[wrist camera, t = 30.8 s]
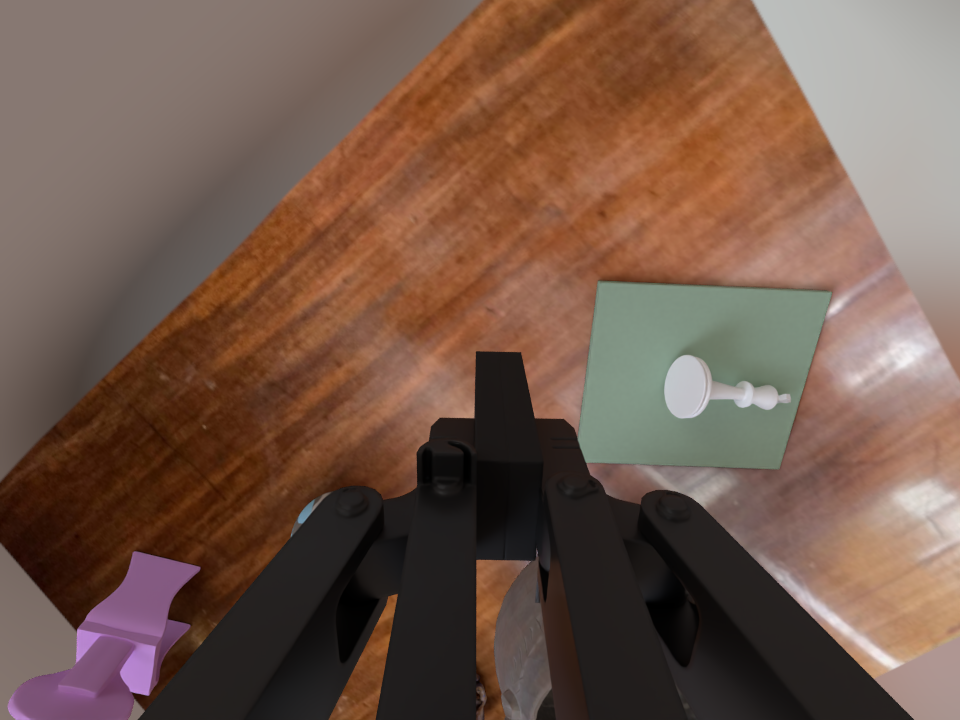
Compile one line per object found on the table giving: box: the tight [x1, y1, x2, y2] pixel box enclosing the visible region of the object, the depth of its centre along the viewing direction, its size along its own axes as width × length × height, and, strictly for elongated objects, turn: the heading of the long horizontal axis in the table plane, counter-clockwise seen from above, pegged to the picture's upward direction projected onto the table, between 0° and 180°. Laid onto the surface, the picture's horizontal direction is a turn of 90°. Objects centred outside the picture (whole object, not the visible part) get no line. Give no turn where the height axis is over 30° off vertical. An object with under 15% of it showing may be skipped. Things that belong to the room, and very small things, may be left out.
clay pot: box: [494, 557, 698, 720], centre depth 44 cm, size 21×21×15 cm
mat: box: [578, 281, 832, 469], centre depth 43 cm, size 16×18×1 cm
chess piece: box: [664, 355, 791, 419], centre depth 42 cm, size 5×5×10 cm
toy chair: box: [8, 551, 200, 720], centre depth 45 cm, size 8×9×15 cm
